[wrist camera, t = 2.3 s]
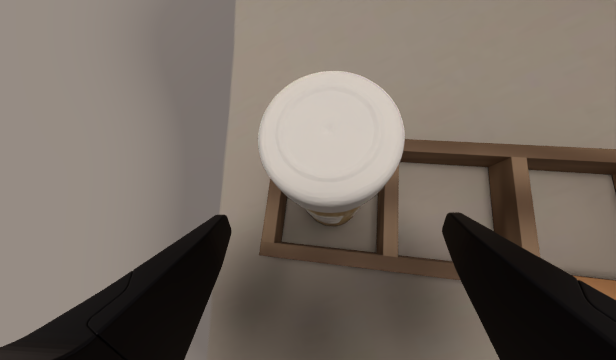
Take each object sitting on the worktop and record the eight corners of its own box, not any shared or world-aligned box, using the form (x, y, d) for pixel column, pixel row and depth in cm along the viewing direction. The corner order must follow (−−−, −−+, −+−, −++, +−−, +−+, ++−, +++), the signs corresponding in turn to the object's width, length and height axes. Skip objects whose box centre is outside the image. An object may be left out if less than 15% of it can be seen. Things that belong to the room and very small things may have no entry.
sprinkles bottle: (368, 205, 19) (446, 140, 6) (326, 237, 19) (311, 241, 6) (335, 165, 20) (341, 39, 7) (295, 195, 20) (226, 119, 7)
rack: (658, 306, 15) (729, 321, 12) (267, 257, 19) (257, 261, 16) (623, 163, 18) (676, 150, 15) (283, 144, 21) (276, 131, 19)
